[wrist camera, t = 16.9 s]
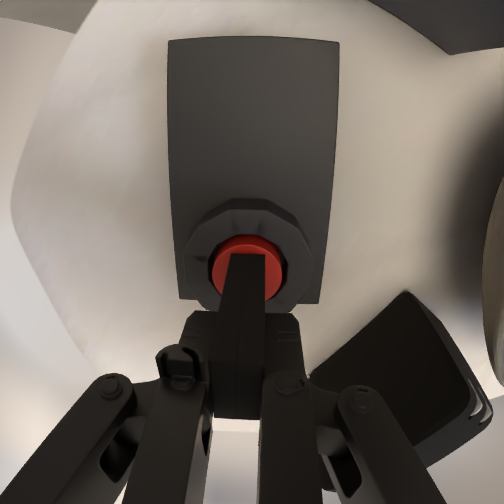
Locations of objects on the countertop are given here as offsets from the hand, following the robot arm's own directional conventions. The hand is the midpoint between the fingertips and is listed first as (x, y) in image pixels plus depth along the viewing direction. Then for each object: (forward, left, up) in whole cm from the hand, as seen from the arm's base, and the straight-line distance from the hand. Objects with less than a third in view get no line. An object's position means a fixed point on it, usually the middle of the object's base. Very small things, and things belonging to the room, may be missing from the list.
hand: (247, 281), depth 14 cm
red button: (0, 0, -2) cm, 2 cm away
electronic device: (+8, +9, -4) cm, 13 cm away
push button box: (-4, 0, -4) cm, 6 cm away
